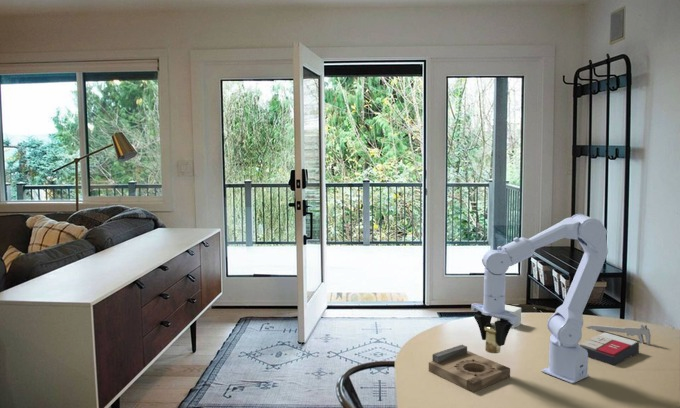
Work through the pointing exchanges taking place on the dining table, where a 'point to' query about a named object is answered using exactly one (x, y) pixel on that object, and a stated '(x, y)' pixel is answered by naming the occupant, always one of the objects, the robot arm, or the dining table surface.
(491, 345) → the bushing
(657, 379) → the dining table surface
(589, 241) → the robot arm
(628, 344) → the printed card box
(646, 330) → the caliper
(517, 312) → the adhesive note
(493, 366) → the jig
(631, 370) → the dining table surface
